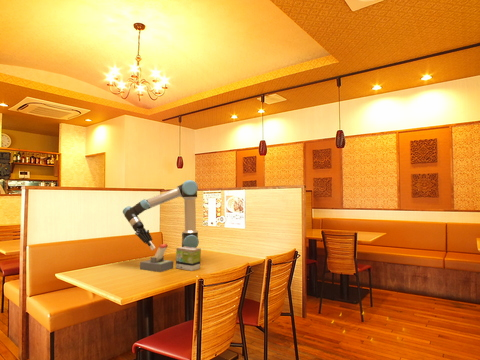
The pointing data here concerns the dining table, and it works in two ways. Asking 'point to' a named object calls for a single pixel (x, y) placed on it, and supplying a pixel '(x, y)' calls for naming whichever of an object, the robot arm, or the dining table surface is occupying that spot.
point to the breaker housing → (156, 265)
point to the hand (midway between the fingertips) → (153, 249)
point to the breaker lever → (160, 252)
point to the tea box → (188, 258)
